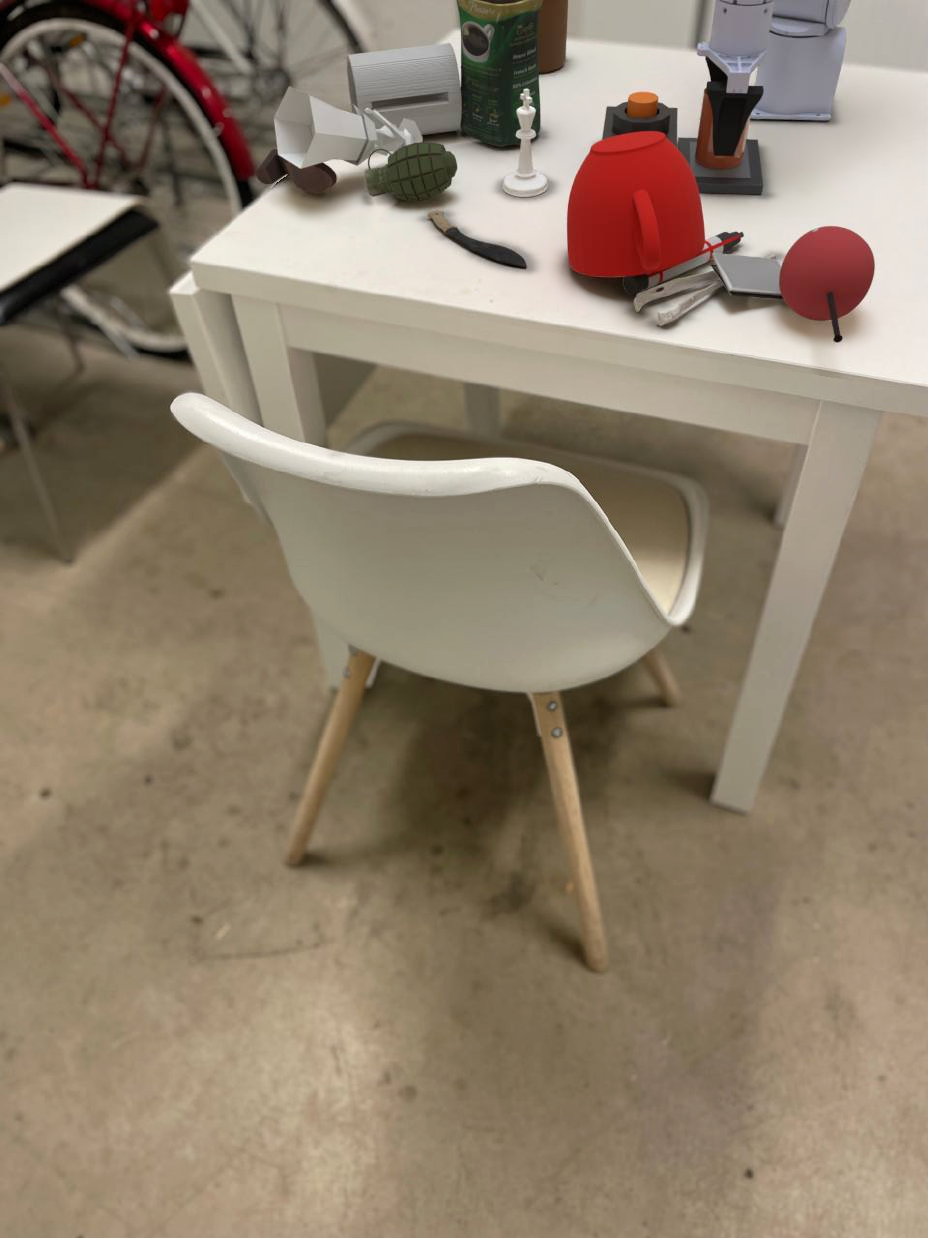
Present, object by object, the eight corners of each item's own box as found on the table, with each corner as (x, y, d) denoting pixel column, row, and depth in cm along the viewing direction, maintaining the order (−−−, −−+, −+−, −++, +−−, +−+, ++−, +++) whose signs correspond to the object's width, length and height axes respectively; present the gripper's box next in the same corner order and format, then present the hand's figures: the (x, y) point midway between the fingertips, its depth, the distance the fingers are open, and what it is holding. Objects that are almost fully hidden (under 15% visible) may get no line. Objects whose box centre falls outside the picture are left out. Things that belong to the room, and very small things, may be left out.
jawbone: (665, 330, 85) (670, 309, 83) (628, 308, 87) (632, 288, 86) (791, 278, 92) (797, 258, 91) (753, 259, 95) (759, 239, 93)
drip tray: (756, 147, 109) (758, 138, 109) (761, 194, 102) (763, 184, 101) (677, 145, 111) (678, 135, 110) (676, 191, 103) (677, 181, 102)
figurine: (271, 94, 100) (401, 120, 112) (279, 176, 102) (406, 193, 114) (310, 74, 95) (441, 104, 107) (317, 161, 97) (446, 181, 109)
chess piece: (516, 200, 103) (517, 102, 95) (495, 183, 106) (493, 86, 98) (555, 190, 104) (559, 91, 97) (533, 173, 107) (535, 77, 100)
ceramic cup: (728, 149, 76) (730, 273, 82) (685, 113, 90) (689, 222, 96) (568, 181, 78) (581, 301, 83) (549, 141, 91) (562, 246, 97)
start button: (656, 108, 104) (658, 91, 103) (656, 120, 102) (658, 102, 101) (627, 108, 104) (628, 90, 103) (626, 119, 102) (627, 102, 101)
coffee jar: (551, 135, 114) (557, -49, 100) (503, 155, 111) (503, -33, 97) (497, 113, 119) (495, -65, 105) (449, 132, 116) (441, -50, 102)
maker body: (672, 145, 111) (679, 90, 106) (671, 191, 103) (679, 133, 98) (603, 143, 112) (607, 88, 107) (597, 189, 104) (601, 132, 99)
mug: (506, 87, 125) (505, 4, 118) (472, 71, 129) (470, -10, 122) (577, 65, 129) (580, -16, 122) (542, 50, 133) (544, -29, 126)
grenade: (458, 134, 104) (373, 156, 107) (444, 120, 98) (353, 143, 100) (469, 196, 106) (384, 216, 108) (455, 186, 99) (366, 207, 101)
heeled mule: (319, 157, 101) (339, 139, 102) (244, 154, 106) (264, 138, 108) (333, 197, 104) (352, 179, 106) (259, 193, 109) (279, 176, 111)
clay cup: (741, 150, 107) (753, 82, 101) (743, 170, 103) (755, 101, 98) (694, 148, 107) (703, 81, 102) (694, 168, 104) (704, 100, 99)
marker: (639, 281, 87) (625, 269, 88) (634, 299, 89) (620, 287, 90) (754, 230, 93) (740, 219, 94) (747, 248, 95) (733, 237, 95)
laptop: (717, 242, 87) (707, 260, 88) (737, 283, 84) (727, 301, 86) (783, 249, 89) (772, 266, 91) (805, 288, 86) (794, 306, 88)
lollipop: (770, 362, 78) (762, 279, 88) (856, 391, 78) (839, 305, 88) (818, 277, 72) (804, 200, 83) (911, 309, 73) (885, 228, 83)
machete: (536, 266, 94) (536, 259, 93) (513, 276, 92) (513, 269, 92) (440, 213, 101) (440, 206, 101) (417, 221, 100) (417, 215, 100)
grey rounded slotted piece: (349, 106, 117) (444, 94, 119) (363, 159, 114) (460, 146, 115) (344, 36, 109) (446, 24, 110) (358, 91, 106) (462, 78, 107)
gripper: (703, -26, 99) (685, 112, 109) (705, 20, 89) (685, 167, 100) (772, -26, 98) (748, 113, 108) (782, 20, 88) (754, 169, 99)
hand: (722, 139), depth 104 cm, fingers open, 7 cm apart
